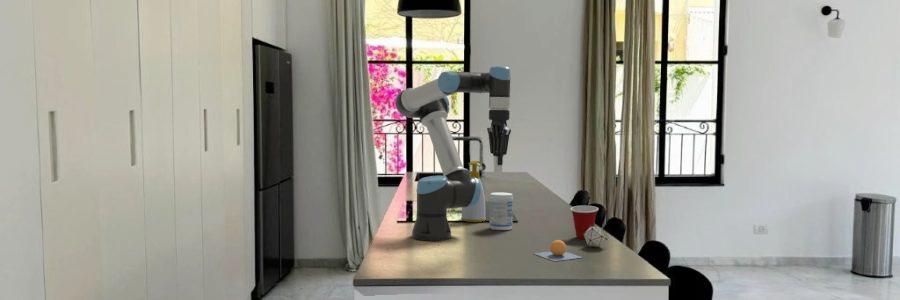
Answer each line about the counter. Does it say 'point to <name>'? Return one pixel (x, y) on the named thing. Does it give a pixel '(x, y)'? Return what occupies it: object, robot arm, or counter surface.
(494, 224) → the supplement tub
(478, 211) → the soap bottle
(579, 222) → the plastic cup
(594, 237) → the game die
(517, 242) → the counter surface
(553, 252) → the ball
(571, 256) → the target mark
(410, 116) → the robot arm
